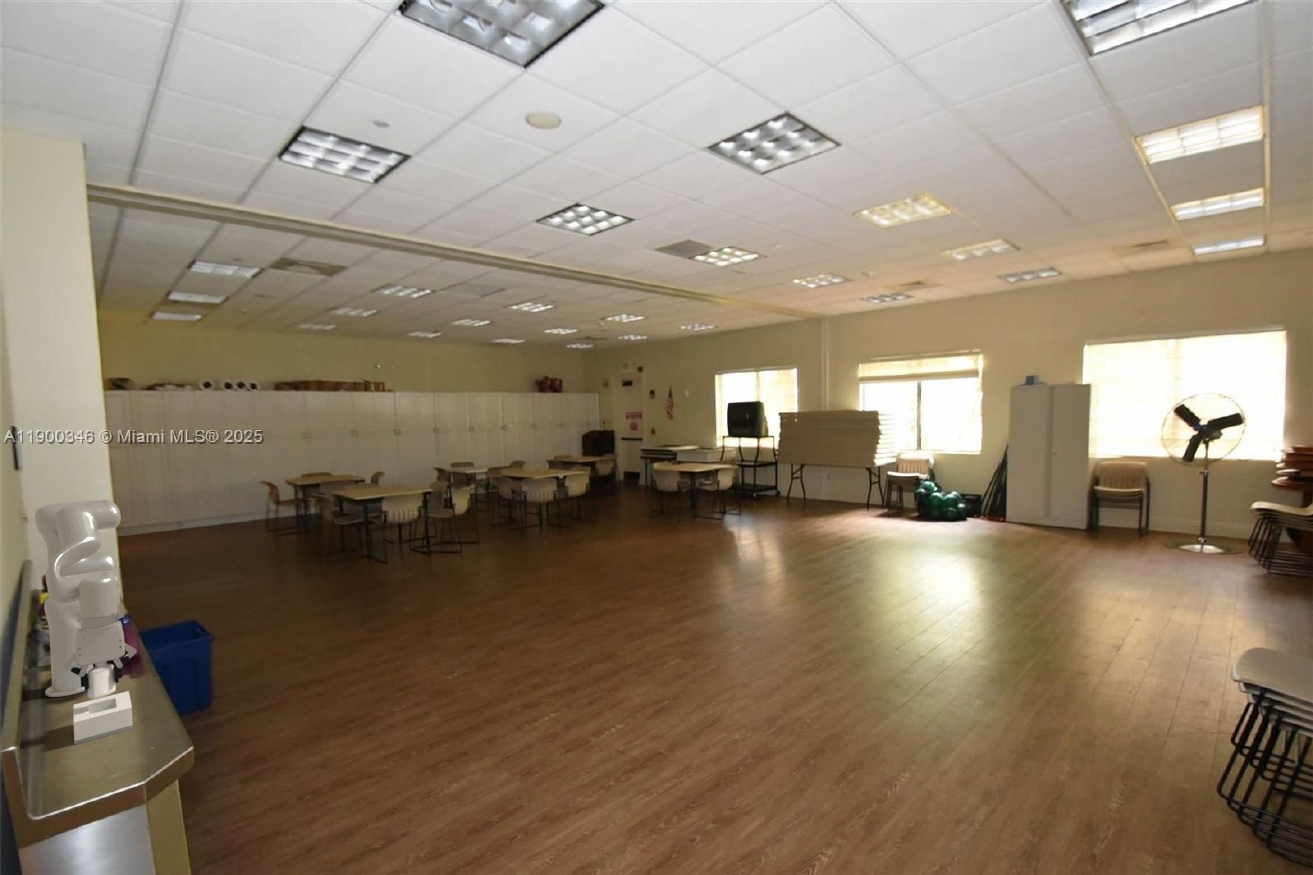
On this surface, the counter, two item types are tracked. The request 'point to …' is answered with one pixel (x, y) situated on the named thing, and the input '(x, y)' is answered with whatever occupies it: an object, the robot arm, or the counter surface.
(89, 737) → the keyed holder
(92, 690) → the eye dropper bottle
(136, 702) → the counter surface
